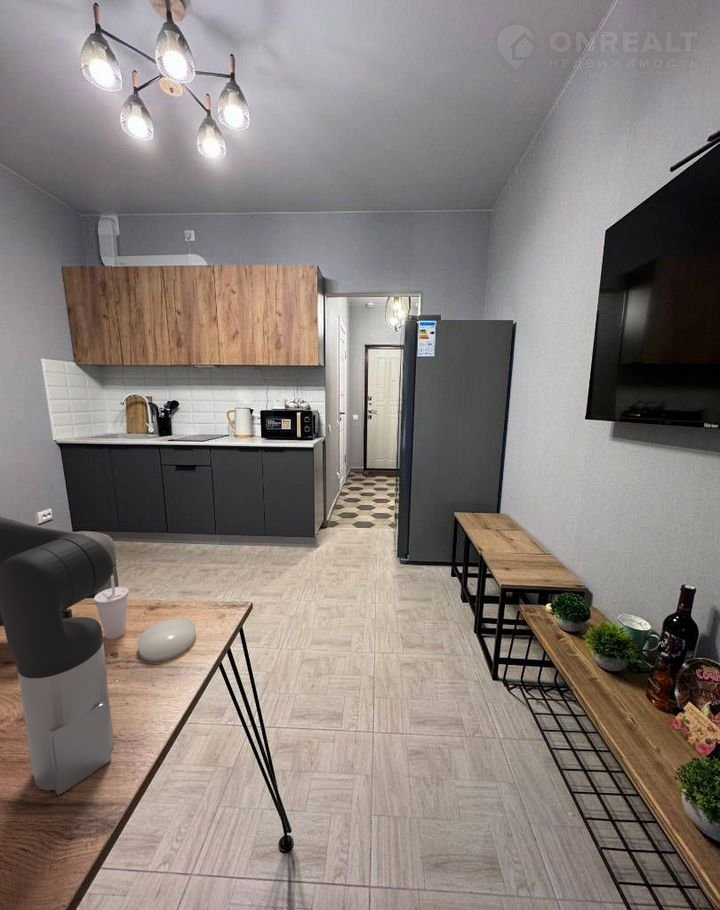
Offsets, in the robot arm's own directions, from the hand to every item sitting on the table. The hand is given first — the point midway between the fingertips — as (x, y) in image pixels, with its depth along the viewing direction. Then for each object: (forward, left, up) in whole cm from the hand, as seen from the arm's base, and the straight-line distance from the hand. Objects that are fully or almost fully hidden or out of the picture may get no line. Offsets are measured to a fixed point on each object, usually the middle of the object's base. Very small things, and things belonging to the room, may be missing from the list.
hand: (84, 602), depth 78 cm
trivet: (-16, -10, -8) cm, 20 cm away
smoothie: (-4, -4, -8) cm, 10 cm away
